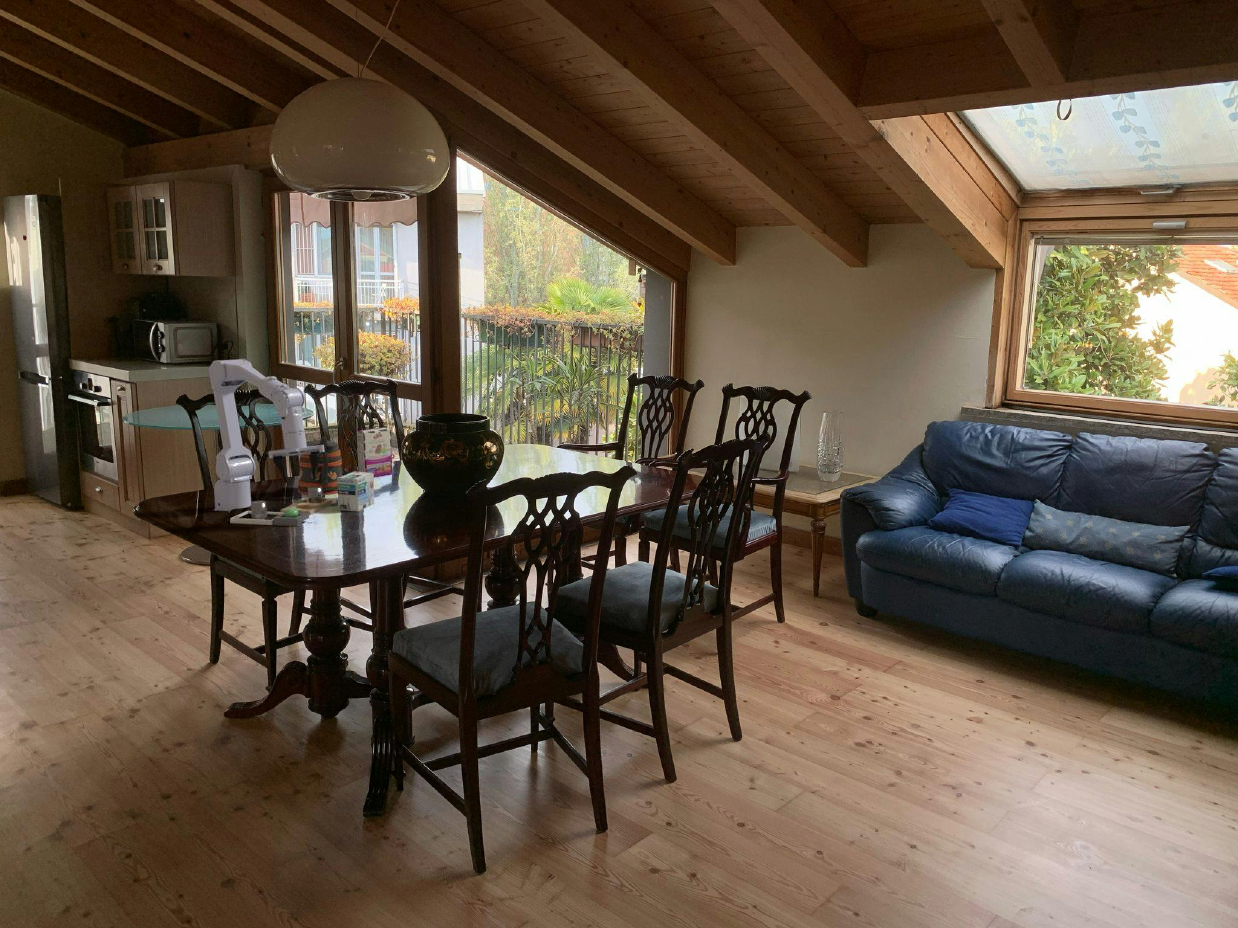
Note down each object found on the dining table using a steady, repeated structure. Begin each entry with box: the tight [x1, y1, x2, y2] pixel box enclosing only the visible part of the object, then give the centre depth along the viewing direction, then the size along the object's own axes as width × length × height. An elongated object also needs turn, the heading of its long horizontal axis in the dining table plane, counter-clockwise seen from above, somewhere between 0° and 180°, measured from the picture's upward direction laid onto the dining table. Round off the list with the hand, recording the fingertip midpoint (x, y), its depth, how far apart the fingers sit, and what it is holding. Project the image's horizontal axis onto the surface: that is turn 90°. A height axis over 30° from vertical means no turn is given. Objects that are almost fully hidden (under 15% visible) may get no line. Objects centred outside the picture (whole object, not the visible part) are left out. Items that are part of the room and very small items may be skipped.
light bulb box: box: [337, 471, 375, 512], centre depth 275 cm, size 11×7×11 cm, turn 168°
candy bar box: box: [356, 427, 393, 478], centre depth 325 cm, size 11×5×16 cm, turn 138°
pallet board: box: [279, 496, 337, 516], centre depth 273 cm, size 9×17×2 cm, turn 173°
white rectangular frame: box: [229, 510, 282, 526], centre depth 261 cm, size 12×9×2 cm
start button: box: [284, 509, 298, 518], centre depth 258 cm, size 4×4×2 cm
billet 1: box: [250, 500, 268, 520], centre depth 260 cm, size 4×4×5 cm
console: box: [272, 513, 310, 527], centre depth 258 cm, size 7×7×2 cm
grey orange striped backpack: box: [297, 436, 343, 496], centre depth 293 cm, size 19×15×20 cm
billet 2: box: [307, 486, 324, 503], centre depth 277 cm, size 4×4×5 cm
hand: (300, 480), depth 258 cm, fingers open, 7 cm apart
